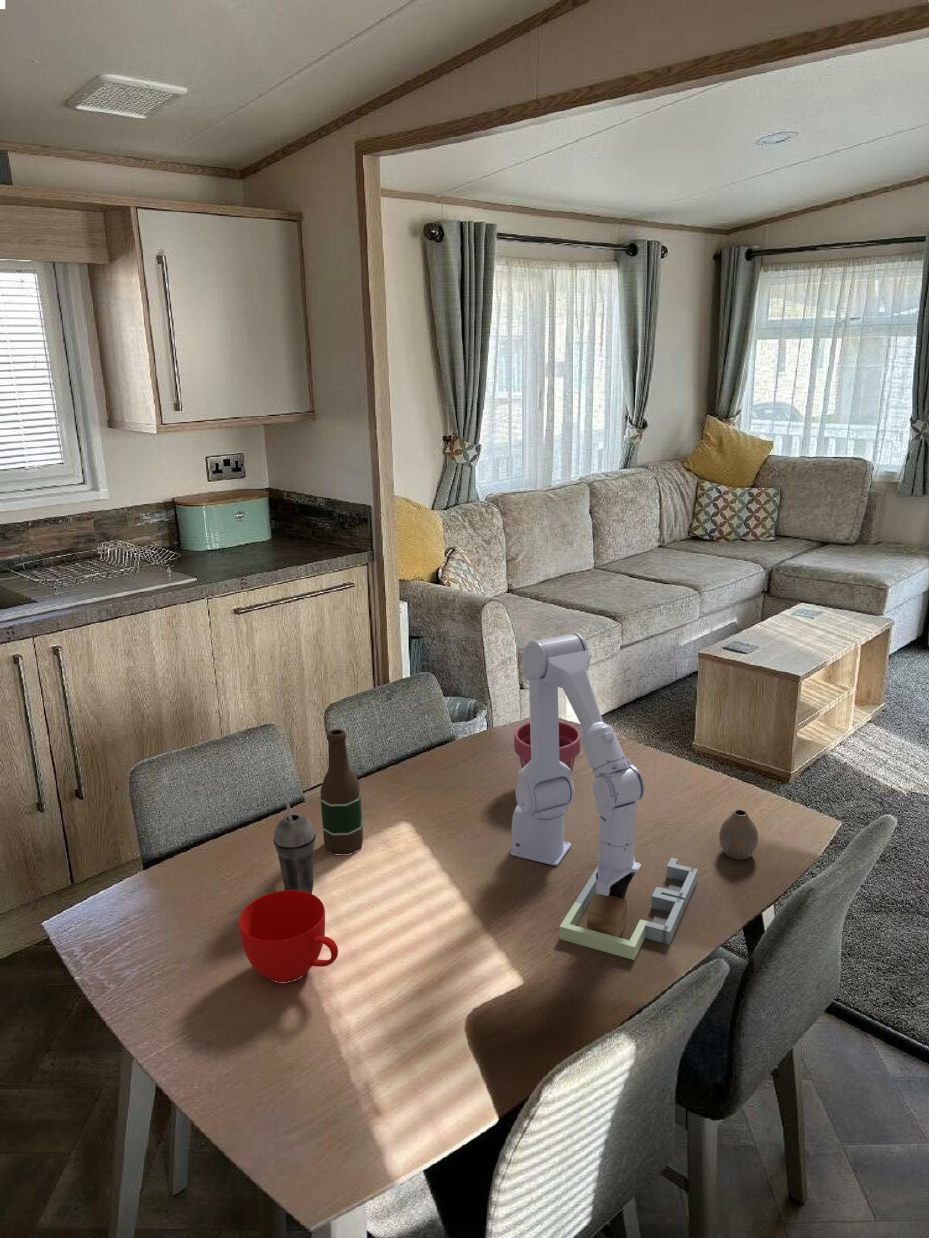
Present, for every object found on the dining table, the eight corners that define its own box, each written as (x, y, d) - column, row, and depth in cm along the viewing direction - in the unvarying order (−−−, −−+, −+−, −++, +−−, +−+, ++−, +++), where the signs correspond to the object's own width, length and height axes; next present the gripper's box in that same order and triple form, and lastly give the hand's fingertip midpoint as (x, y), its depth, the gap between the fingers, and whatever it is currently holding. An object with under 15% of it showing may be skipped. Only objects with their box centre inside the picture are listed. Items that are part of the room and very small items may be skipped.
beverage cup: (328, 889, 161) (320, 788, 155) (305, 911, 155) (296, 807, 149) (294, 879, 164) (285, 780, 158) (270, 901, 158) (260, 799, 152)
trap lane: (559, 938, 146) (559, 926, 146) (611, 855, 169) (611, 843, 169) (659, 967, 139) (660, 954, 138) (699, 875, 162) (700, 864, 162)
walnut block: (586, 934, 147) (587, 908, 146) (597, 917, 151) (597, 891, 150) (616, 943, 145) (617, 916, 143) (626, 925, 149) (627, 899, 148)
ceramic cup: (310, 1019, 130) (305, 961, 127) (226, 979, 139) (220, 923, 136) (366, 967, 141) (362, 912, 138) (285, 933, 149) (279, 880, 146)
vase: (758, 866, 165) (762, 823, 162) (719, 862, 166) (722, 820, 164) (754, 845, 171) (758, 804, 169) (717, 842, 173) (719, 801, 170)
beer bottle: (316, 852, 173) (306, 737, 166) (336, 832, 180) (328, 721, 172) (352, 859, 170) (344, 743, 163) (371, 839, 177) (364, 726, 170)
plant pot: (583, 803, 188) (584, 747, 185) (515, 804, 189) (515, 748, 185) (576, 771, 202) (576, 718, 198) (513, 772, 202) (512, 719, 199)
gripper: (627, 865, 139) (625, 940, 143) (652, 821, 152) (649, 891, 156) (584, 855, 142) (582, 928, 146) (612, 813, 155) (610, 881, 159)
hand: (614, 909), depth 151 cm, fingers closed
